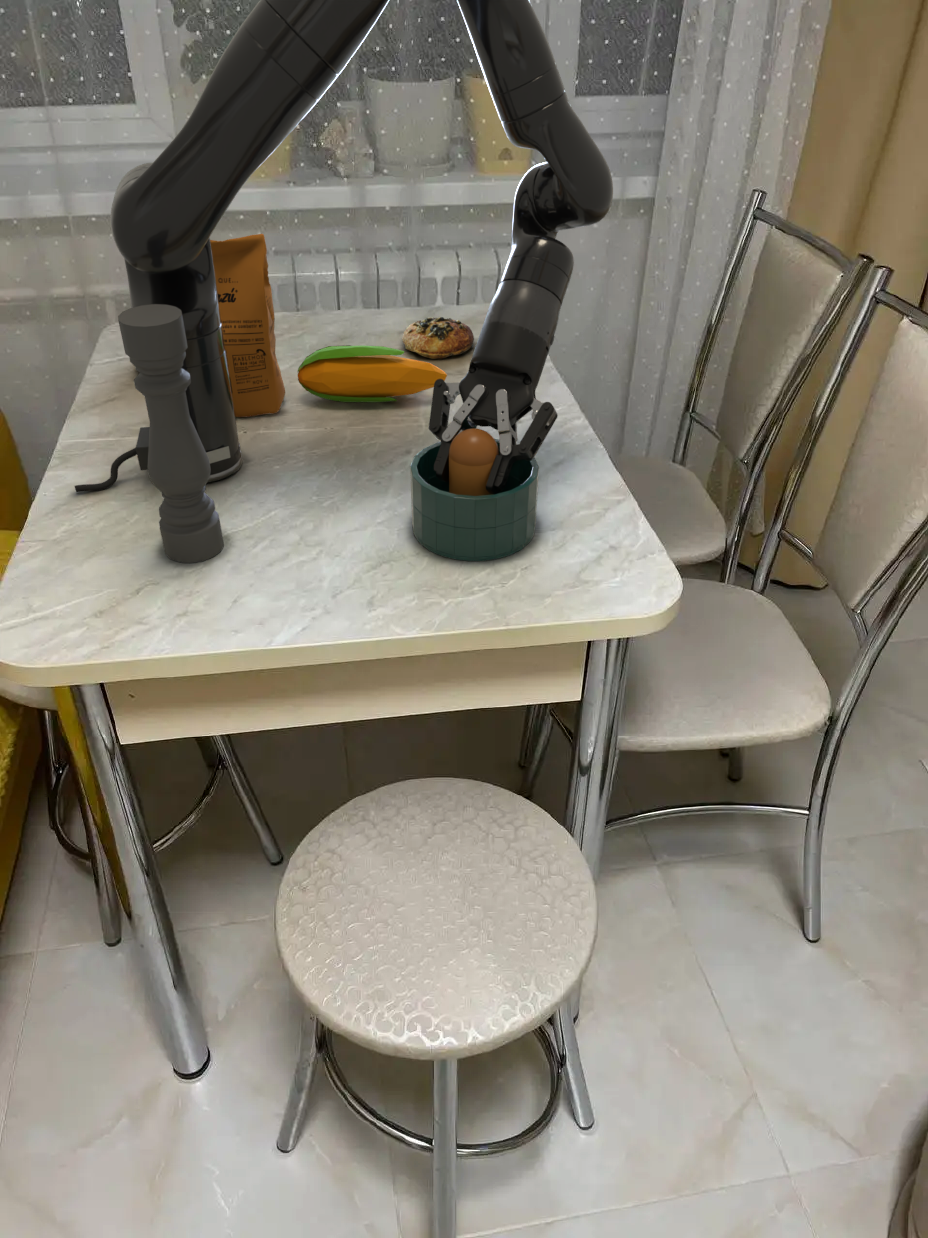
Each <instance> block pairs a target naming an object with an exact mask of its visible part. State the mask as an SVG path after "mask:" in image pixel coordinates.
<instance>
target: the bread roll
mask: <svg viewBox="0 0 928 1238" xmlns="http://www.w3.org/2000/svg"><path fill="white" fill-rule="evenodd" d="M401 339H402V343H403V344H404V347H405V350H407V351H411V352H413V353H415V354H418V355H419V356H421V357H424V358H429V359H433V360H436V359H442V360H443V359H446V358H448V357H451V356H456V355H457V356H458V355H461V354H463V353H465V352H467V351H468V350H470V349H471V348H472V346H473V344H474V340H475V337H474V332H473V330H472V329H471V327H470V326H469V325H467V324H466V323H464V322H462V321H460V320H459V319H457V320H455V319H452V318H451V317H449V318H444V317H443V316H438V317H434V316H431V317H425V318H424V319H422V320H416V321H415V322H413V323H410V324H409V325H408V327H407V328H405V330H404V331H403V335H402V337H401Z"/></svg>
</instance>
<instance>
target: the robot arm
mask: <svg viewBox="0 0 928 1238" xmlns="http://www.w3.org/2000/svg"><path fill="white" fill-rule="evenodd" d="M389 1H390V0H259V1H258V2H257V3H256V4H255V6H254V7H253V9H252V10H251V11H250V13H249V14H248V15H247V16H246V18H245V19H244V21H242V23H241V25H240V26H239V27H238V29H237V31H236V32H235V34H234V35H233V37H232V38H231V40H230V41H229V43H228V44H227V46H226V47H225V49H224V51H223V53H222V54H221V56H220V58H219V59H218V61H217V63H216V65H215V67H214V69H213V71H212V72H211V75H210V76H209V78H208V81H207V82H206V84H205V86H204V89H203V90H202V93H201V95H200V96H199V99H198V100H197V103H196V104H195V107H194V108H193V110H192V112H191V114H190V116H189V117H188V119H187V121H186V122H185V124H184V125H183V126H182V128H181V129H180V130H179V132H178V133H177V134H176V136H175V137H174V138H173V139H172V140H171V141H170V142H169V144H168V145H167V146H166V147H165V149H164V150H163V151H161V153H160V154H159V155H158V156H157V157H156V158H155V160H154V161H153V162H145V163H142V164H139V165H137V166H134V167H133V168H132V169H130V170H129V171H127V172H126V173H125V174H124V176H122V178H121V179H120V181H119V182H118V184H117V186H116V189H115V193H114V195H113V200H112V204H111V207H110V209H111V210H110V217H109V218H110V219H109V221H110V230H111V234H112V235H111V236H112V238H113V241H114V243H115V246H116V248H117V250H118V252H119V254H120V255H121V257H123V260H124V266H125V270H126V276H127V285H128V292H129V302H130V308H133V307H137V306H142V305H151V304H163V305H170V306H175V307H177V308H179V309H180V310H181V312H182V317H183V323H184V329H185V335H186V340H187V346H188V348H187V349H186V350H185V352H186V357H185V359H184V361H183V366H182V367H181V368H182V369H184V370H185V371H187V372H188V373H190V378H191V383H190V385H189V386H188V387H187V390H186V391H185V392H186V398H187V403H188V409H189V414H190V418H191V420H192V422H193V424H194V427H195V429H196V431H197V433H198V436H199V438H200V440H201V443H202V445H203V447H204V449H205V451H206V454H207V456H208V458H209V462H210V468H211V473H210V477H209V479H208V481H207V483H212V482H216V481H217V482H218V481H219V480H223V479H225V478H227V477H228V478H229V476H231V475H234V474H235V473H236V472H237V471H239V469H241V467H242V465H243V454H242V451H241V443H240V440H239V439H240V438H239V432H238V427H237V420H236V419H237V417H235V411H234V405H233V398H232V391H231V384H230V378H229V371H228V364H227V357H226V351H225V344H224V337H223V330H222V324H221V317H220V310H219V301H218V292H217V284H216V277H215V271H214V265H213V257H212V250H211V243H210V240H211V236H212V234H213V232H214V231H215V229H216V227H217V226H218V224H219V223H220V221H221V220H222V218H223V216H224V215H225V213H226V212H227V210H228V209H229V207H230V205H231V204H232V203H233V201H234V200H235V198H236V197H237V195H238V194H239V192H240V191H241V189H242V188H243V187H244V185H245V184H246V183H247V181H248V180H249V179H250V177H251V176H252V175H253V174H254V173H255V172H256V171H257V169H258V168H259V167H260V166H261V165H263V163H264V162H265V161H266V160H267V159H268V158H269V157H270V156H271V155H272V154H273V153H274V152H275V151H276V150H277V149H278V148H279V146H281V144H282V143H283V142H284V141H285V140H286V139H287V137H288V136H290V134H291V133H292V132H293V131H294V130H295V129H296V127H297V126H298V125H299V123H301V121H302V120H303V119H304V118H305V117H306V116H307V115H308V113H310V111H312V109H313V108H314V107H315V106H316V105H317V103H318V102H319V101H320V99H321V98H322V97H323V96H324V94H325V93H326V92H327V90H328V89H329V88H330V87H331V86H332V85H333V83H334V82H335V81H336V80H337V78H338V77H339V75H340V74H341V73H342V72H343V70H344V69H345V68H346V66H348V65H347V64H348V63H349V62H350V60H351V58H353V56H354V55H355V54H356V52H357V50H359V48H360V47H361V45H362V43H364V41H365V39H366V38H367V36H368V35H369V33H370V31H371V30H372V29H373V27H374V26H375V24H376V23H377V21H378V19H379V17H380V16H381V14H382V13H383V11H384V10H385V9H386V6H387V5H388V3H389ZM456 2H457V4H458V6H459V9H460V12H461V15H462V17H463V20H464V23H465V25H466V28H467V32H468V34H469V38H470V40H471V43H472V44H473V48H474V51H475V54H476V57H477V60H478V63H479V65H480V68H481V71H482V74H483V76H484V81H485V82H486V85H487V87H488V91H489V93H490V96H491V98H492V101H493V104H494V106H495V109H496V112H497V115H498V118H499V120H500V121H501V125H502V127H503V130H504V132H505V134H506V137H507V138H508V140H509V142H510V143H511V144H512V145H513V146H514V147H516V148H520V149H526V150H527V149H528V150H533V151H536V152H538V153H539V154H540V155H541V156H542V158H543V159H544V160H545V162H542V163H541V162H540V163H538V164H536V165H534V166H532V167H531V168H530V169H528V170H527V172H526V173H524V175H523V177H522V178H521V179H520V181H519V183H518V186H517V188H516V191H515V194H514V198H513V209H512V224H511V237H510V253H509V256H508V258H507V260H506V264H505V265H504V268H503V269H504V270H503V272H502V275H501V278H500V280H499V284H498V287H497V289H496V291H495V293H494V295H493V297H492V299H491V301H490V304H489V306H488V309H487V312H486V316H485V318H484V321H483V324H482V327H481V329H480V332H479V336H478V339H477V342H476V345H475V346H474V350H473V353H472V356H471V359H470V361H469V366H468V370H467V372H466V374H465V375H464V377H463V378H462V379H460V381H459V382H446V380H445V381H444V380H443V379H437V380H436V381H435V383H434V387H433V389H432V397H431V404H430V405H431V406H430V414H429V416H430V417H429V421H428V430H429V431H430V433H431V434H433V436H435V438H436V439H437V440H438V441H440V442H441V446H440V449H439V452H438V455H437V458H436V461H435V463H434V471H435V472H436V477H437V478H438V479H439V480H440V481H443V482H448V480H449V449H450V445H451V443H452V441H453V439H454V438H455V437H456V436H457V435H458V434H459V433H460V432H462V431H464V430H467V429H472V428H476V429H477V428H478V426H479V427H485V428H486V427H489V428H492V429H494V430H495V431H497V432H498V436H499V437H498V440H500V454H499V455H496V457H495V460H494V463H493V466H492V469H491V472H490V475H489V478H488V481H487V484H486V490H487V491H488V492H489V493H490V494H498V491H499V490H501V491H502V490H503V489H504V488H505V486H506V483H507V480H508V477H509V474H510V471H511V468H512V465H513V463H514V462H515V461H518V460H526V461H531V460H532V459H533V458H534V457H535V456H536V455H537V453H538V452H539V450H540V448H541V447H542V445H543V443H544V441H545V439H546V438H547V436H548V435H549V432H550V431H551V429H552V427H553V426H554V424H555V422H556V421H557V419H558V412H557V410H556V408H555V406H554V405H553V404H552V402H550V401H544V402H543V401H541V400H539V399H537V398H536V389H537V388H538V385H539V382H540V380H541V376H542V374H543V370H544V367H545V365H546V362H547V359H548V356H549V352H550V349H551V348H552V346H553V344H554V341H555V334H556V331H557V327H558V324H559V320H560V319H559V318H560V312H561V309H562V306H563V304H564V300H565V297H566V294H567V291H568V288H569V285H570V281H571V280H572V275H573V272H574V267H575V258H574V254H573V252H572V250H571V249H570V247H568V245H566V244H565V243H564V242H562V241H560V240H558V239H557V236H558V233H559V232H560V231H565V230H571V229H572V230H573V229H578V228H583V227H584V228H585V227H589V226H593V225H595V224H598V223H600V222H601V221H602V220H603V219H604V218H605V217H606V216H607V215H608V213H609V211H610V210H611V207H612V202H613V198H614V182H613V177H612V173H611V170H610V167H609V165H608V163H607V160H606V158H605V157H604V155H603V153H602V152H601V150H600V148H599V146H598V145H597V144H596V142H595V141H594V138H592V136H591V135H590V133H589V131H588V129H587V128H586V126H585V125H584V124H583V122H582V120H581V118H580V117H579V116H578V114H576V112H575V110H574V109H573V107H572V106H571V104H570V102H569V101H570V100H569V99H568V95H567V92H566V90H565V86H564V83H563V80H562V77H561V74H560V71H559V68H558V65H557V63H556V59H555V57H554V53H553V52H552V49H551V46H550V44H549V40H548V38H547V36H546V34H545V30H544V29H543V26H542V25H541V23H540V20H539V17H538V16H537V14H536V12H535V11H534V8H533V6H532V4H531V1H530V0H456ZM459 395H460V398H461V401H462V404H461V406H460V407H459V408H458V409H457V411H456V412H455V413H454V415H453V417H452V421H451V422H450V423H449V418H450V411H451V405H453V404H454V403H455V402H456V399H457V397H458V396H459ZM530 412H531V419H532V420H531V422H530V425H529V426H528V428H527V430H526V432H525V433H524V435H523V437H522V438H521V440H520V442H519V443H518V444H517V442H518V425H517V424H518V422H519V421H520V420H521V419H522V418H524V417H525V416H526V415H528V413H530ZM149 429H150V426H144V427H142V426H141V427H140V428H139V431H138V437H137V440H136V444H135V447H134V448H132V449H130V450H128V451H126V452H124V453H122V454H121V455H118V456H117V458H116V459H114V461H113V462H112V463H111V466H110V475H109V478H108V479H106V480H105V481H103V482H100V483H99V482H98V483H88V484H87V483H85V484H76V485H74V490H75V493H82V492H98V491H103V490H107V489H109V488H110V487H112V486H113V485H114V484H116V482H117V479H118V476H119V468H120V467H121V465H122V464H123V463H124V462H125V461H127V460H129V459H132V458H134V457H135V456H137V461H138V466H139V470H140V471H148V451H149ZM535 458H536V457H535Z"/></svg>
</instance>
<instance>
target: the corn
mask: <svg viewBox="0 0 928 1238" xmlns="http://www.w3.org/2000/svg"><path fill="white" fill-rule="evenodd" d="M404 353H405V351H404V350H400V349H397V348H394V347H393V348H392V347H387V346H382V345H349V344H348V345H347V344H346V345H345V344H344V345H329V346H328V345H327V346H325V347H322V348H319V349H316V350H315V351H313V352H312V353H310V354H309V355H307V356H306V357H305V359H303V361H302V363H301V364H300V365H299V367H298V368H297V371H296V372H297V381H298V383H299V385H301V388H303V389H304V390H305V391H306V392H309V393H310V394H311V395H314V396H316V397H318V398H320V399H324V400H327V401H334V402H339V403H386V402H387V403H389V402H397V401H398V399H396V398H394V397H402V396H408V395H414V394H417V393H420V392H423V391H426V390H430V389H432V388H433V389H434V383H435V381H436V380H437V379H443V380H444V381H445V382H446V379H447V377H448V374H447V372H445V371H444V370H443V369H441V368H440V367H438V366H436V365H434V364H432V363H431V362H427V361H423V360H416V359H411V358H407V357H400V356H403V354H404Z"/></svg>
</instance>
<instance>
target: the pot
mask: <svg viewBox="0 0 928 1238" xmlns="http://www.w3.org/2000/svg"><path fill="white" fill-rule="evenodd" d="M494 439H495V441H496V443H497V446H498V450H499V454H500V440H499V438H494ZM440 446H441V441H437V442H434V443H433V444H430V445H428V446H426V447H424V448H422V449H421V450H420V451H419V452H418V453H416V455H414V457H413V458H412V461H411V463H410V466H409V469H410V470H409V471H410V473H409V474H410V498H411V499H410V503H411V504H410V507H411V524H412V533H413V534H414V538H415V539H416V540H417V542H418V543H419V544H420V545H421V546H423V548H425V549H426V550H428V551H430V552H432V553H434V554H436V555H438V556H441V557H443V558H446V559H447V558H448V559H451V560H456V561H457V560H458V561H465V562H485V561H493V560H497V559H502V558H506V557H509V556H511V555H514V554H515V553H517V552H520V551H521V550H522V549H524V548H525V547H527V546H528V544H530V542H531V541H532V540H533V538H534V535H535V532H536V525H537V509H538V495H539V494H538V493H539V492H538V490H539V476H540V466H539V462H538V461H537V459H536V457H534V458H533V459H532V460H531V461H526V460H518V461H515V462H514V463H513V465H512V468H511V471H510V474H509V477H508V480H507V483H506V486H505V488H504V489H503V490H502V491H501V490H499V491H498V494H494V495H481V496H470V495H458V494H453V493H449V480H448V482H443V481H440V480H439V479H438V478H437V477H436V472H435V471H434V463H435V461H436V458H437V455H438V452H439V449H440Z"/></svg>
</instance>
